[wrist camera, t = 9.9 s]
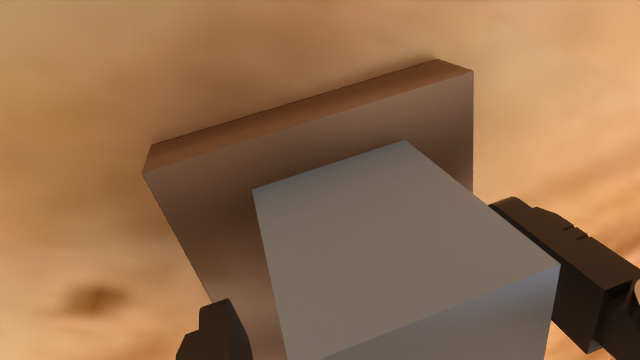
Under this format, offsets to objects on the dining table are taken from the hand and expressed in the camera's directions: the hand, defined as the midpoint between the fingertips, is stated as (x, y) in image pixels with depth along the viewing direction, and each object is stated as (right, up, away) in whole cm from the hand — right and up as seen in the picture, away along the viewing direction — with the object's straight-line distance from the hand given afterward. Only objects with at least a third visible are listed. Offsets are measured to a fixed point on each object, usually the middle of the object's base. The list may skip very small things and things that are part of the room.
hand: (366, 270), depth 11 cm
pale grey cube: (0, +1, +2) cm, 2 cm away
